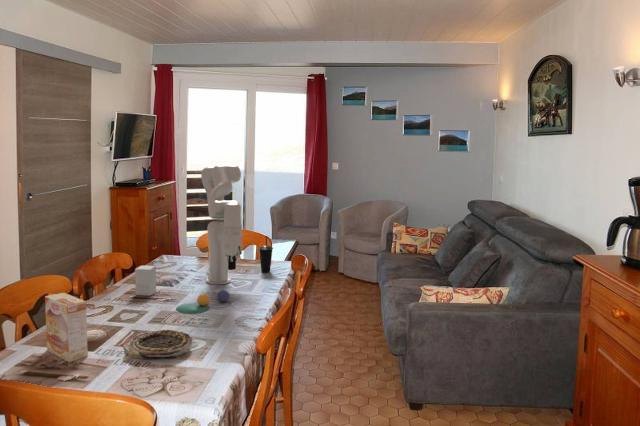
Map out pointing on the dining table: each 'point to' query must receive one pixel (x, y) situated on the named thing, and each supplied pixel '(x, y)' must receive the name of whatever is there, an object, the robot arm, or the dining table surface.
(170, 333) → the woven basket
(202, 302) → the orange ball
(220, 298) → the dark blue ball
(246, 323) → the dining table surface
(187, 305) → the green mark
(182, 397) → the dining table surface
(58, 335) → the coffeecake box
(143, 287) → the supplement box
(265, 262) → the drinking cup
